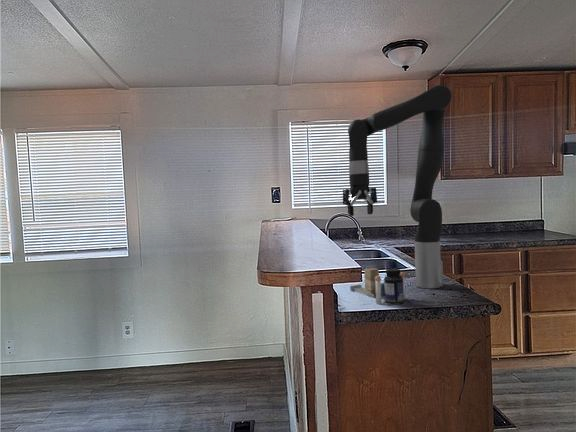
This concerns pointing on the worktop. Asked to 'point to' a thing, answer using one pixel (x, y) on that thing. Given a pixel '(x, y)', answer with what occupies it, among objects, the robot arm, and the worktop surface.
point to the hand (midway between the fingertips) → (360, 215)
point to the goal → (378, 287)
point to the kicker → (372, 281)
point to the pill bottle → (393, 287)
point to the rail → (361, 290)
